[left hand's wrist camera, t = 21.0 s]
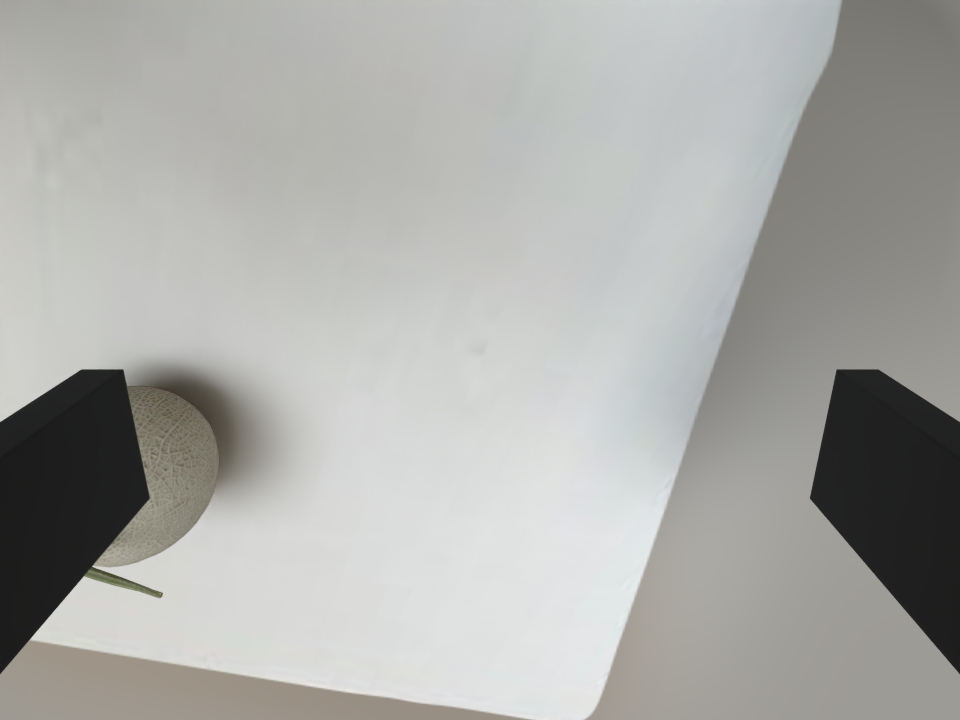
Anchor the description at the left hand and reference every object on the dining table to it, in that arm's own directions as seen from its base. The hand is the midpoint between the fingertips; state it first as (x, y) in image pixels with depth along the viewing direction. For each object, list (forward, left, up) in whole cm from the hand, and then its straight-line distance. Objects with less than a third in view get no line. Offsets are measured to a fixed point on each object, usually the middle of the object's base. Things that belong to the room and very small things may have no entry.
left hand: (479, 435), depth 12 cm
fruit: (-25, +12, -31) cm, 41 cm away
